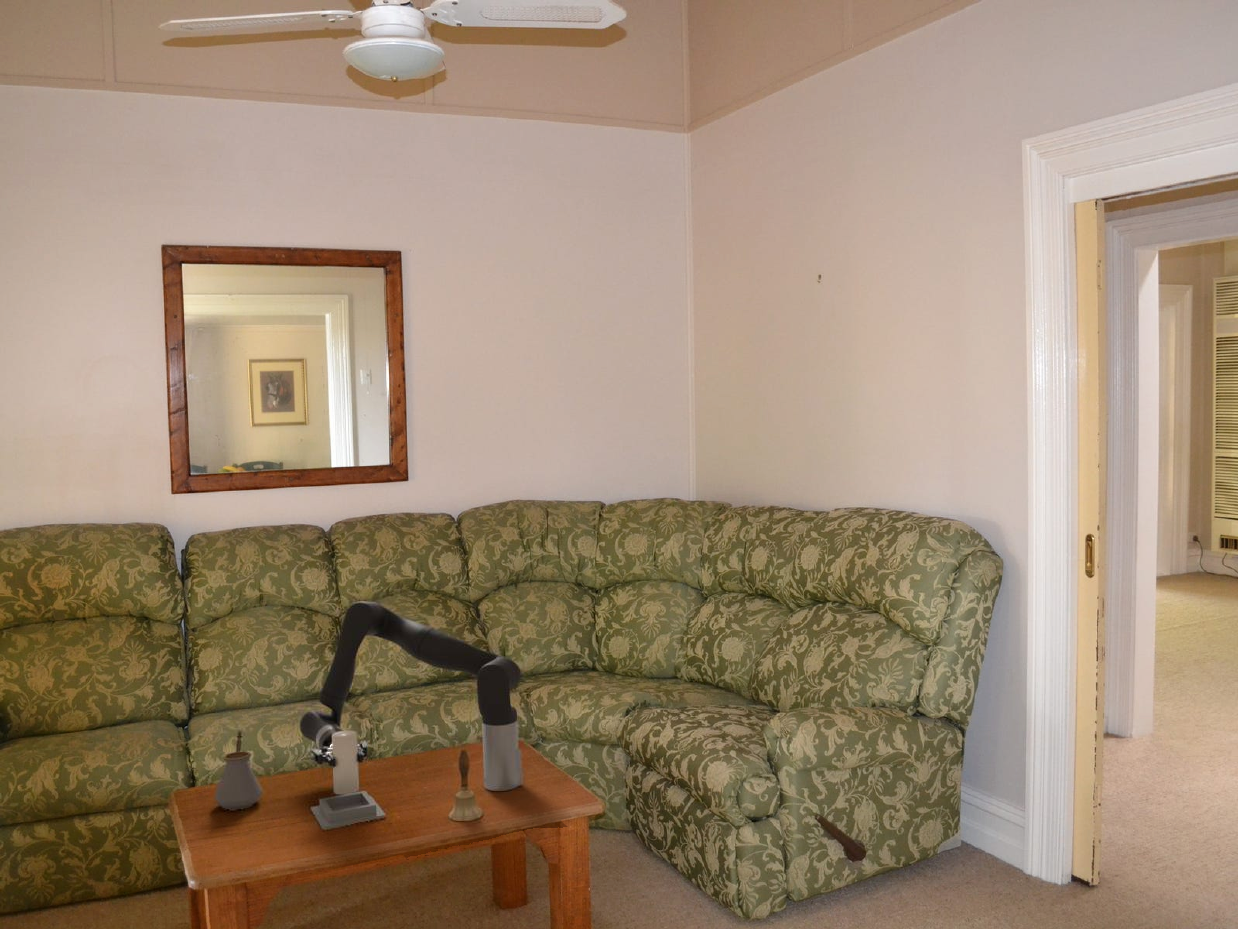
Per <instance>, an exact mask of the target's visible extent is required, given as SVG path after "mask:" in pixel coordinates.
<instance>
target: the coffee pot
mask: <svg viewBox="0 0 1238 929" xmlns="http://www.w3.org/2000/svg"><path fill="white" fill-rule="evenodd" d="M242 733H243V734H244V735H242ZM245 735H246V734H245V732H243V731H241V730H239V731H238V732H236V733H235V736H236V739H237V740H236V751H234V752H230V753H226V754H225V755H224V756H223V760H224V761H225V763H226V765H225V768H224V770H223V773H222V775H221V778H220V781H219V783H218V786H217V789H216V790H215V791H216V792H215V794H214V800H215V803H216V804H217V805H219V806H220V807H222V808H223V809H224V808H226V809H229V810H228V811H238V810H237V809H241V810H243V809H242V808H245V809H248V808H251V807H252V806H251V805H253V804H254V803H255V804H256V802H257V801H258V800H259V799H260V798H261V796H262V793H263V789H262V787H261V785H260V782H259V781H258V779H257V777H256V775H255V774H254V771H253V770H252V768H251V766H250V764H249V760H250V757H251V756H252V753H251V752H248V751H242V738H243V737H244V736H245ZM255 804H254V805H255ZM254 805H253V806H254ZM250 806H251V807H250ZM226 809H225V810H226Z"/></svg>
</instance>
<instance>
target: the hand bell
mask: <svg viewBox="0 0 1238 929" xmlns="http://www.w3.org/2000/svg"><path fill="white" fill-rule="evenodd" d="M458 758H459V759H458V769H459V774H460V778H461V781H460V784H461V785H460V787H461V788H460V790H459V792H457V793H456V794H455V801H454V805H453V809H452V810H451V811H450V812H449V813H448V818H449V819H450V820H451V821H453V822H469V821H475V820H478V819H479V818H481V817H482V816H484V811H483V810H482V809H481V808H480V807H479V806H478V804H477V801H476V797H475V793H474V791H472V790H470V789H469V779H468V776H469V771H470V758H469V755H468V752H467V750H466V749H462V750H461V751H460V754H459V757H458Z"/></svg>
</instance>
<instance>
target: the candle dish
mask: <svg viewBox="0 0 1238 929" xmlns="http://www.w3.org/2000/svg"><path fill="white" fill-rule="evenodd" d="M318 801H319V805H315V806H314V805H313V806H311V807H310V810H311V812H313V813H312V815H313V816H314V815H315V816H314V818H315V819H316V821H317V822H319V823H318V824H319V825H320V827H321V829H322V831H327V829H328V830H333V829H337V828H342V826H343V827H346V826H345V825H348V826H352V825H351V824H353V823H357V822H361V821H368V822H371V821H370V820H373V819H377V818H383V819H386V818H387V816H386V813H385V812H384V810H382V808H381V806H380V805H379V804H378V802H376V800H375V799H374V798H373V797H372V796H371V795H369V794H368V792H367V791H366V790H362V791H357V792H354V793H351V794H345V795H341V794H339V795H336V796H331V797H325V798H319V799H318ZM385 817H386V818H385ZM373 821H374V820H373ZM353 825H354V824H353ZM332 828H333V829H332Z"/></svg>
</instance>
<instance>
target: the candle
mask: <svg viewBox="0 0 1238 929" xmlns="http://www.w3.org/2000/svg"><path fill="white" fill-rule="evenodd" d="M357 744H358V733H357V731H355V730H343V731H339V732H336V733H334V734H332V754H333V756H334V758H335V767H332V777H333V778H332V780H333V793H334V794H336V795H345V794H351V793H356V792H359V789H360V785H359V784H360V782H359V762H358V748H357Z"/></svg>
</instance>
